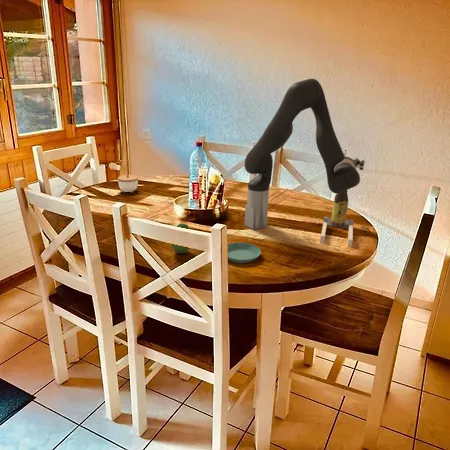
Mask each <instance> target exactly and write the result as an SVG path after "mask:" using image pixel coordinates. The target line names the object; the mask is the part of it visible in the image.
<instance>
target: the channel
mask: <svg viewBox="0 0 450 450" xmlns="http://www.w3.org/2000/svg"><path fill="white" fill-rule="evenodd" d="M328 218H329V217H328V216H323V223H322V229H321V234H320V239H319V243H322V244H324V243H325V239H326V232H327V227H328V226H327V219H328ZM354 222H355V221H354V219H349V228H348V231H347V233H348V234H347V247H349V248H350V247H352V246H353V240H354V239H353V235H354V233H353V231H354Z"/></svg>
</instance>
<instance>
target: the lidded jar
mask: <svg viewBox="0 0 450 450" xmlns="http://www.w3.org/2000/svg"><path fill="white" fill-rule="evenodd" d="M138 181H139V177H138V176H137V175H134V174H133V175H132V174H123V175H120V176H118V177H117V183H118V186H119V188H120V190H121V191H122V192H123V193H125V192H131V193H134V192H135V190H136V189H137V188H138V185H139V183H138ZM133 191H134V192H133Z"/></svg>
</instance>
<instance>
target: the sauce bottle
mask: <svg viewBox="0 0 450 450" xmlns="http://www.w3.org/2000/svg"><path fill="white" fill-rule="evenodd" d="M348 206H349V196H348V190H345V191H343V192H341V193H338V194H335V195H334V199H333V206H332V209H331V210H332V211H331V216H330V218H331V224H332V225H334V226H343V225H344V224H345V220H347V213H348Z"/></svg>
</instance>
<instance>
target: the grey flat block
mask: <svg viewBox="0 0 450 450" xmlns="http://www.w3.org/2000/svg"><path fill="white" fill-rule="evenodd" d="M349 223H350V219H345V224H344V225H343V226H334V225H332V224H331V217H328V219H327V227H333V228H342V229H349Z"/></svg>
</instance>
